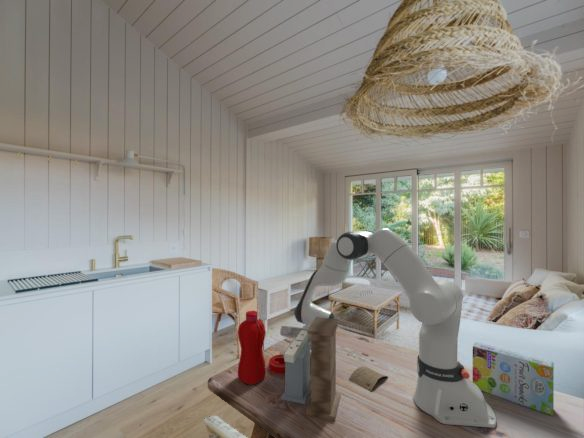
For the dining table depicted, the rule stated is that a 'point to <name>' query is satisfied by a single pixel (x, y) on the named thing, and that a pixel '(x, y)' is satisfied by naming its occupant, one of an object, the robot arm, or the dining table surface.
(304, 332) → the domino bar
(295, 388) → the slate stand
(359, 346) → the dining table surface
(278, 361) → the decorative ornament
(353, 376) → the clay tablet
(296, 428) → the dining table surface
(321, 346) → the walnut pedestal
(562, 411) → the dining table surface
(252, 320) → the water bottle
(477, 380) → the snack box
